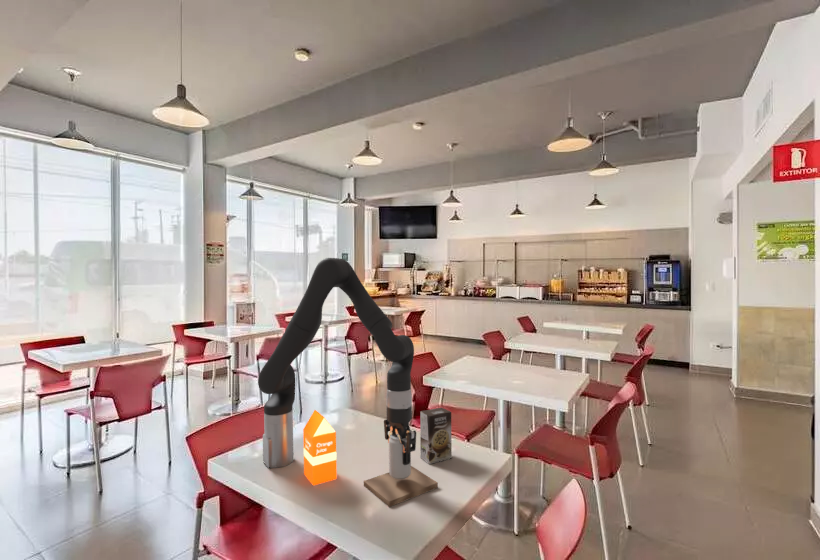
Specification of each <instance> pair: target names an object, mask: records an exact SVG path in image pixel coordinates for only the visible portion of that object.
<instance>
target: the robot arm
mask: <svg viewBox="0 0 820 560" xmlns="http://www.w3.org/2000/svg"><path fill="white" fill-rule="evenodd" d="M317 263H318V264H317V265H316V267H315V268H314V270H313V272H312V275H311V278H310V281H309V282H308V286H307V288H306V290H305V293H303V297H302V299H301V300H300V302H299V304H298V306H297V308H296V310H295V311H294V314H293V315H292V317H291V319H290V321H288V322H289V323H288V324H287V326H286V328H285V331H284V332H283V334H282V336H281V338H280V339H279V340H278V343H277V346H276V347H275V349H274V351H273V352H272V354H271V355H270V357H269V358H268V360H267V362H265V364H264V365H263V367H262V369H261V370H260V372H259V374H258V378H257V385H258V388H259V390H260V391H261V393H264V394H265V395H270V397H269V399H268V400H267V401H266V402H265V403H264V405H263V416H264V417H263V420H264V421H263V422H264V426H263V427H264V429H263V430H264V431H263V432H264V433H263V434H262V461H264V462H265V464H266V465H267V466H266V465H265V464H264V465H265V466H266V467H267V469H270V468H269V467H272V468H281V467H286V466H288V465H290V464H292V463H293V461H294V455H295V454H294V453H295V452H294V422H293V421H294V417H293V416H294V415H293V413H294V412H293V409H294V408H293V407H294V403H295V400H296V397H295V396H296V372H295V370H294V367H293V366H292V363H293V362H294V361H295V360H296V358H298V356H300V355H301V354H302V352H304V351H305V350H306V349H307V347H308V346H310V344H311V343H312V341H313V340H314V338H315V337H316V334H317V333H318V331H319V329H320V327H321V324H322V320H323V319H322V318H323V307H324V304H325V302H326V299H327V298H328V296H329V294H330V293H331V291H332V290H333V289H334V288H339V289H340V290H341V291H343V292H344V294H345V295H347V297H348V298H349V299H350V301H351V303H352V304H353V308H354V310H355V312H356V315H357V317H358V320H359V321H360V323H362V325H363V326H364V327H365V329H367V331H368V332H369V333H370V334H371V335H372V337H373V339H374V341H375V343H376V346H377V348H378V349H379V351H380V353H381V354H382V356H383V357H384V358H385V359H386V360H387V361H389V362H392V363H391V367H390V368H389V369H388V370H387V374H386V397H385V398H386V405H385V406H386V419H384V420H383V427H384V429H383V430H384V440H386V441H387V443H388V444H389V439H390V435H395V436H396V437H398V439H399V443H400V444H401V445H402V450H403V464H404V465H408V464H410V452H411V453H412V452H415V451H416V449H417V448H416V446H417V445H416V444H417V431H416V430H411V427H410V421H412V420H413V400H412V399H413V397H412V395H413V393H412V386H411V384H412V381H411V380H412V377H411V376H412V375H411V373H412V368H413V363H414V362H413V361H414V358H415V356H414V355H415V346H414V343H413V340H412V339H411V338H410V337H409V336H408V335H405V334H404V335H403V334H400V335H396V334H395V332H394V331H393V330H392V328H393V323H392V321H391V319H390V318H389V317H388V316H387V314H386V313H385V312H384V311H383V310H382V309H381V307H379V305H378V304H377V303H376V302H375V300H374V299H373V297H371V295H370V294H369V293H368V291H367V289H366V288H365V286H364V284H363V283H362V282H361V280H360V278H359V277H358V275H357V274H356V271H355V270H354V268H353V267H352V266H351V264H350V263H349V261H348V260H346V259H343V258H337V257H326V258H323V259H321V260H320V261H319V262H317ZM406 437H407V440H405V441H403V440H402V439H404V438H406ZM405 443H407V444H406V447H405ZM264 462H263V463H264Z"/></svg>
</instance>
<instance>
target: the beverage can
mask: <svg viewBox="0 0 820 560" xmlns="http://www.w3.org/2000/svg"><path fill="white" fill-rule="evenodd" d="M402 440H403V441H405V440H407V437H406V438H404V439H402ZM406 444H407V443H405V447H406ZM411 453H412V452H410V464H408V465H404V464H403V450H402V445H401V444H400V443H399V439H398V437H396V436H395V435H390V439H389V443H388V459H389V461H388V466H389V467H388V469H389V470H388V471H389V472H388V473H390V475H391V476H392V477H393V478H395V479H405V478H407V477H408V476H409V475H410V474H411V466H412V463H411V462H412V459H411V458H412V455H411Z"/></svg>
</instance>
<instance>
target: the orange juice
mask: <svg viewBox="0 0 820 560" xmlns="http://www.w3.org/2000/svg"><path fill="white" fill-rule="evenodd" d="M302 429H303V430H302V431H303V433H302V434H303V475H304V476H305V478H306V479H307V481H309V482H310V483H311V485H312V486H317V485H320V484H321V485H322V484H325V483H326V482H331V481H334V480H337V475H338V471H337V432H336V430H335V429H334V428H333V427H332V425H331V424H330V422H328V419H326V418H325V416H323V415H322V414H321V413H320V412H318V411H317V410H316V409H314V411H313V412H312V414H311V415H310V417H309V419H308V420H307V422H306V424H305V426H304V427H303V428H302Z"/></svg>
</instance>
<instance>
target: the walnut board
mask: <svg viewBox="0 0 820 560" xmlns="http://www.w3.org/2000/svg"><path fill="white" fill-rule="evenodd" d="M438 484H439V482H437V481H436V480H434V479H432V478H431V477H429V476H428V475H427V474H425V473H424V472H422V471H420V470H418V469H417V468H415V467H414V466H412V465H411V474H410V475H409V476H408V477H407V478H405V479H395V478H393V477H392V476H391V475H390V473H389V472H386V473H384V474H383V473H382V474H381V475H378V476H374V477H371V478H368V479H366V480H363V487H365V489H367V490H368V491H369V492H370V493H371V494H372V495H374V496H375V497H377V498H378V499H379V500H380V501H381V502H382V503H384V505H386V506H387V507H389V508H390V507H393V506H395V505H398V504H400V503H402V502H403V503H404V502H406V501H408V500H411V499H413V498H416V497H418V496H420V495H423V494H425V493H429V492H431V491H433V490H436V489H438V487H439V485H438Z"/></svg>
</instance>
